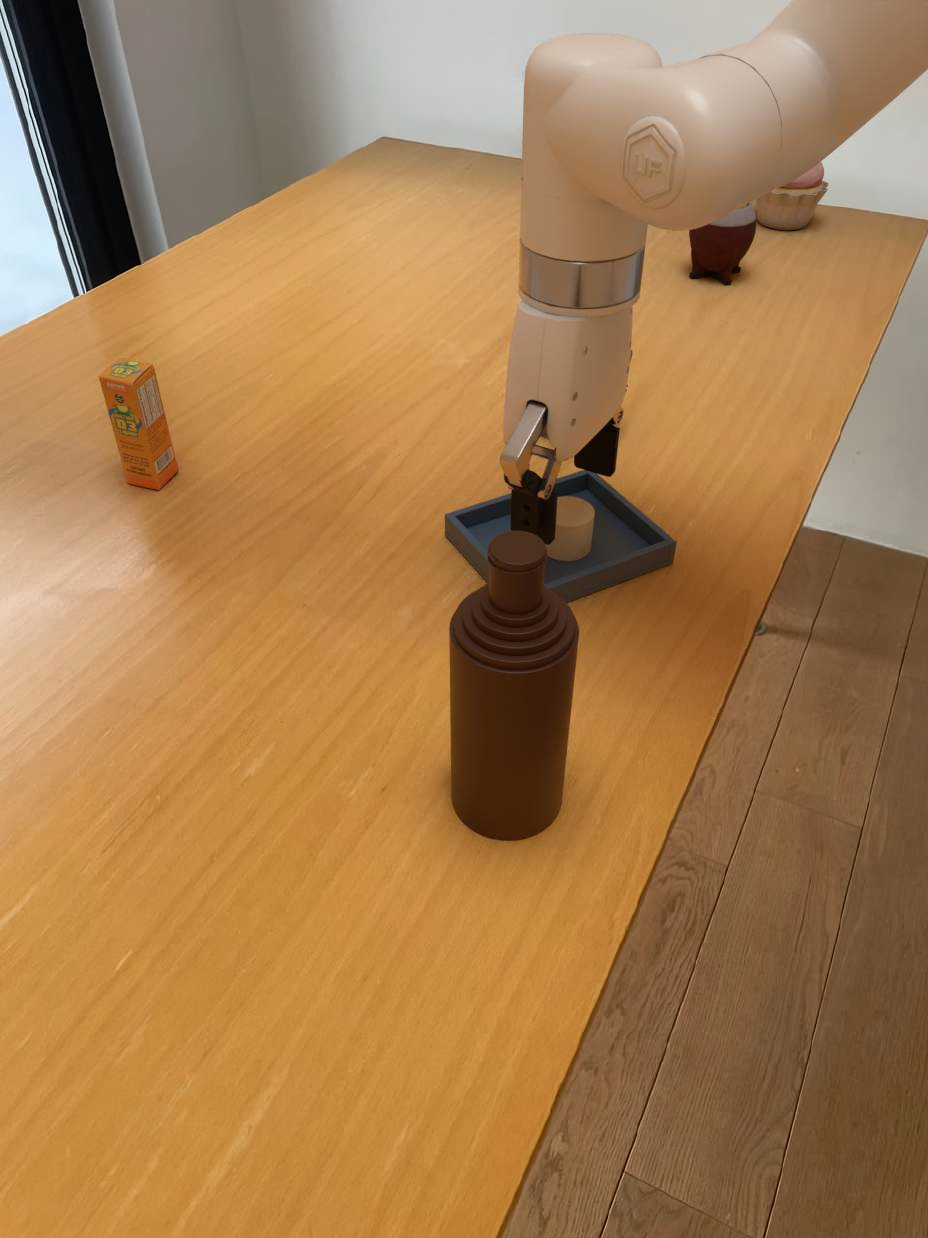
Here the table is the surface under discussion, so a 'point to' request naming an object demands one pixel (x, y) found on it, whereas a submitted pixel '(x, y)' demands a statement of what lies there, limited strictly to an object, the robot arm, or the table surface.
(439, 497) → the table surface
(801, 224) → the cupcake
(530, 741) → the bottle
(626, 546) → the tray
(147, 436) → the supplement box
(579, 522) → the cap
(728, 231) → the mate gourd
